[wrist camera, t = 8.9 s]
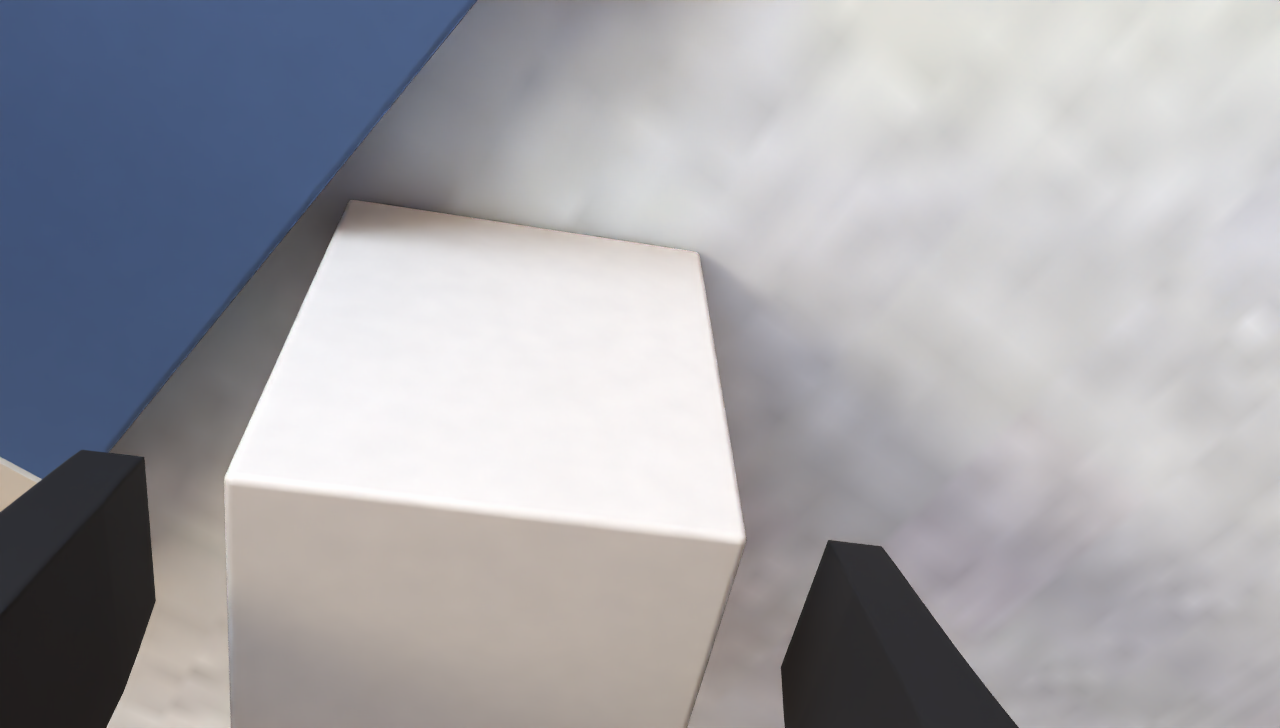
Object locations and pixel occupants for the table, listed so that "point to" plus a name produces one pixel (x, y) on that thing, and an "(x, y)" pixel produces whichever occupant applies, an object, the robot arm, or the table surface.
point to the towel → (163, 183)
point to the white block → (483, 486)
